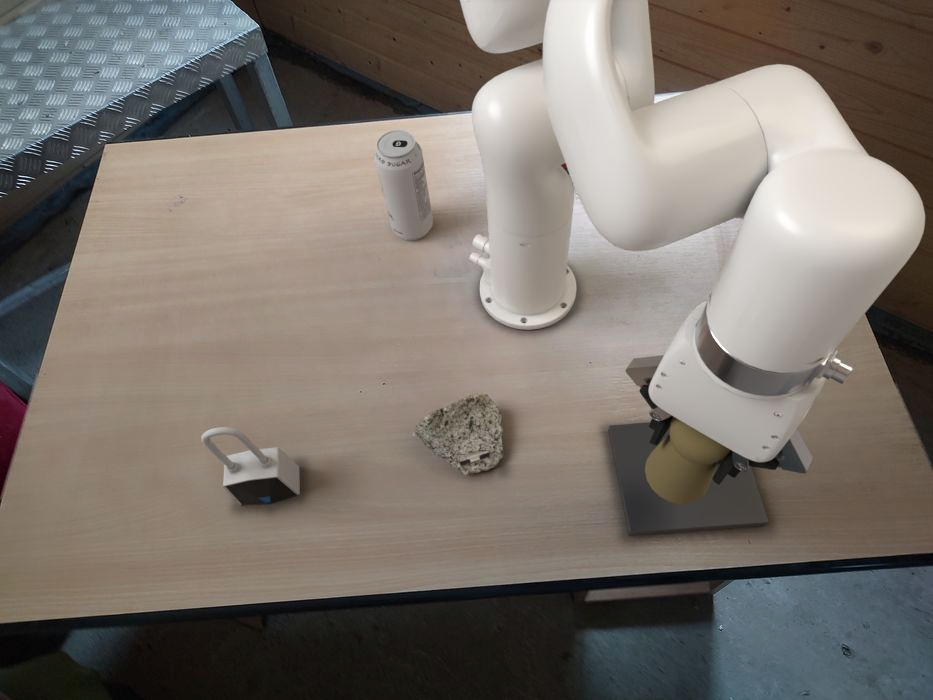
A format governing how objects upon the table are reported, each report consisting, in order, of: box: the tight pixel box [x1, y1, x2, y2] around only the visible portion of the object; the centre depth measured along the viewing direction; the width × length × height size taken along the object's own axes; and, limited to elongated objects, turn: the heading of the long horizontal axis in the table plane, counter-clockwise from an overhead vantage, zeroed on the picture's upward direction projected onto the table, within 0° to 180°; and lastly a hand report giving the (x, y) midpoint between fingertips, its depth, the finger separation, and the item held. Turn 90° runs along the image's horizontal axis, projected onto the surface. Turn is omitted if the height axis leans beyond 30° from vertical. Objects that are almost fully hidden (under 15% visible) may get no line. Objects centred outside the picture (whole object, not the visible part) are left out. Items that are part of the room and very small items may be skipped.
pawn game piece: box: [645, 416, 732, 504], centre depth 54 cm, size 6×6×11 cm
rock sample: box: [412, 392, 505, 476], centre depth 69 cm, size 10×8×9 cm
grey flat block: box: [607, 421, 770, 537], centre depth 66 cm, size 14×12×3 cm
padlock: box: [200, 426, 301, 506], centre depth 63 cm, size 7×4×15 cm, turn 99°
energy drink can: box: [374, 129, 434, 241], centre depth 83 cm, size 6×6×15 cm
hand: (691, 449), depth 54 cm, fingers closed on pawn game piece, 5 cm apart
